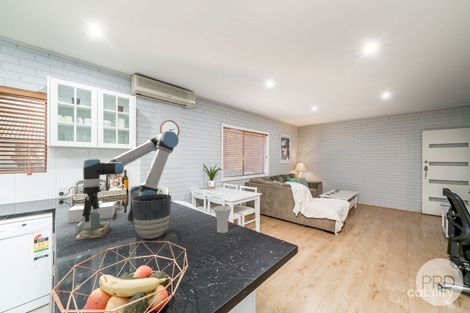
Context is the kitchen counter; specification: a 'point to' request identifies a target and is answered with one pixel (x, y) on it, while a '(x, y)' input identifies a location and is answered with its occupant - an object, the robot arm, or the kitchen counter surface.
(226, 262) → the kitchen counter surface
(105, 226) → the tray
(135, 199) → the planter
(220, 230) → the cup
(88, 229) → the cup
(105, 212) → the tissue box
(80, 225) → the gate
